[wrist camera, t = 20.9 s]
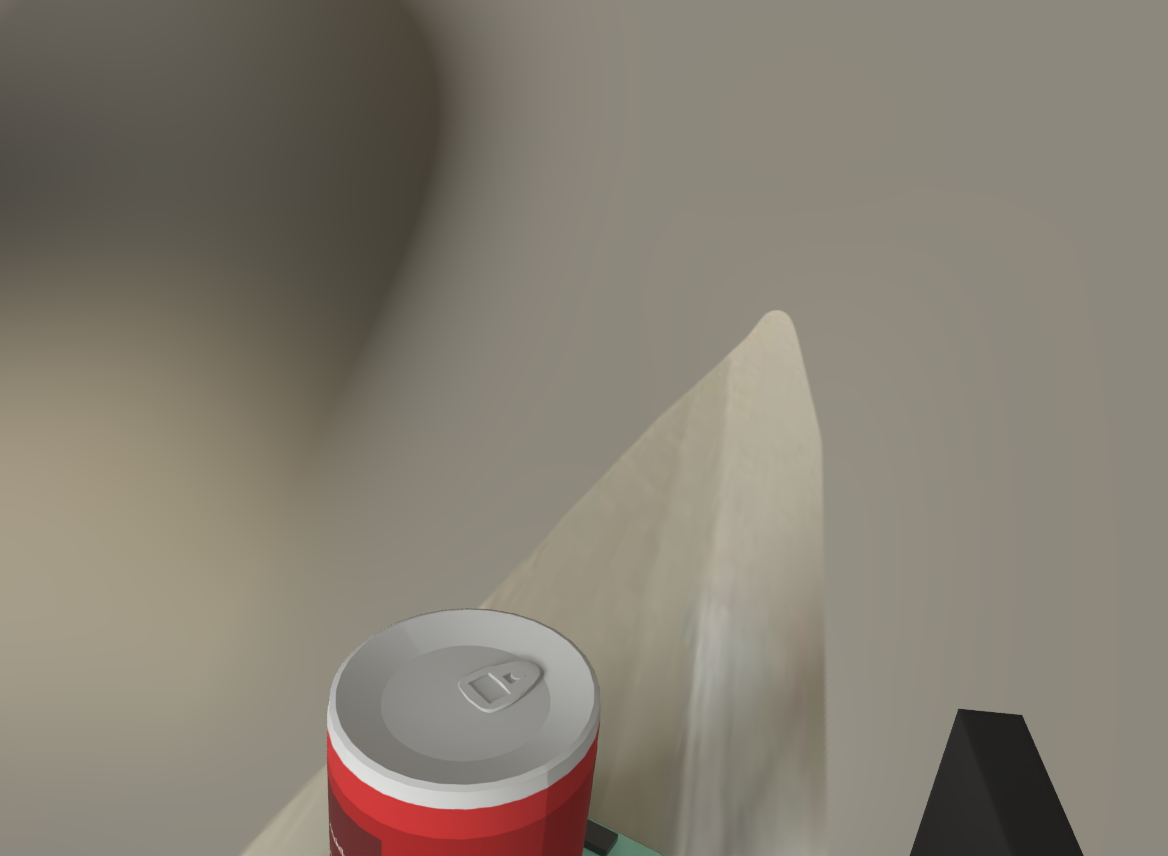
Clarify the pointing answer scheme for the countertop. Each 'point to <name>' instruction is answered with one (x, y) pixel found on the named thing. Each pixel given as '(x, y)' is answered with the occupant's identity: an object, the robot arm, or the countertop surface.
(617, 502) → the countertop surface
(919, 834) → the robot arm
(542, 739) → the canned food
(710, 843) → the countertop surface
